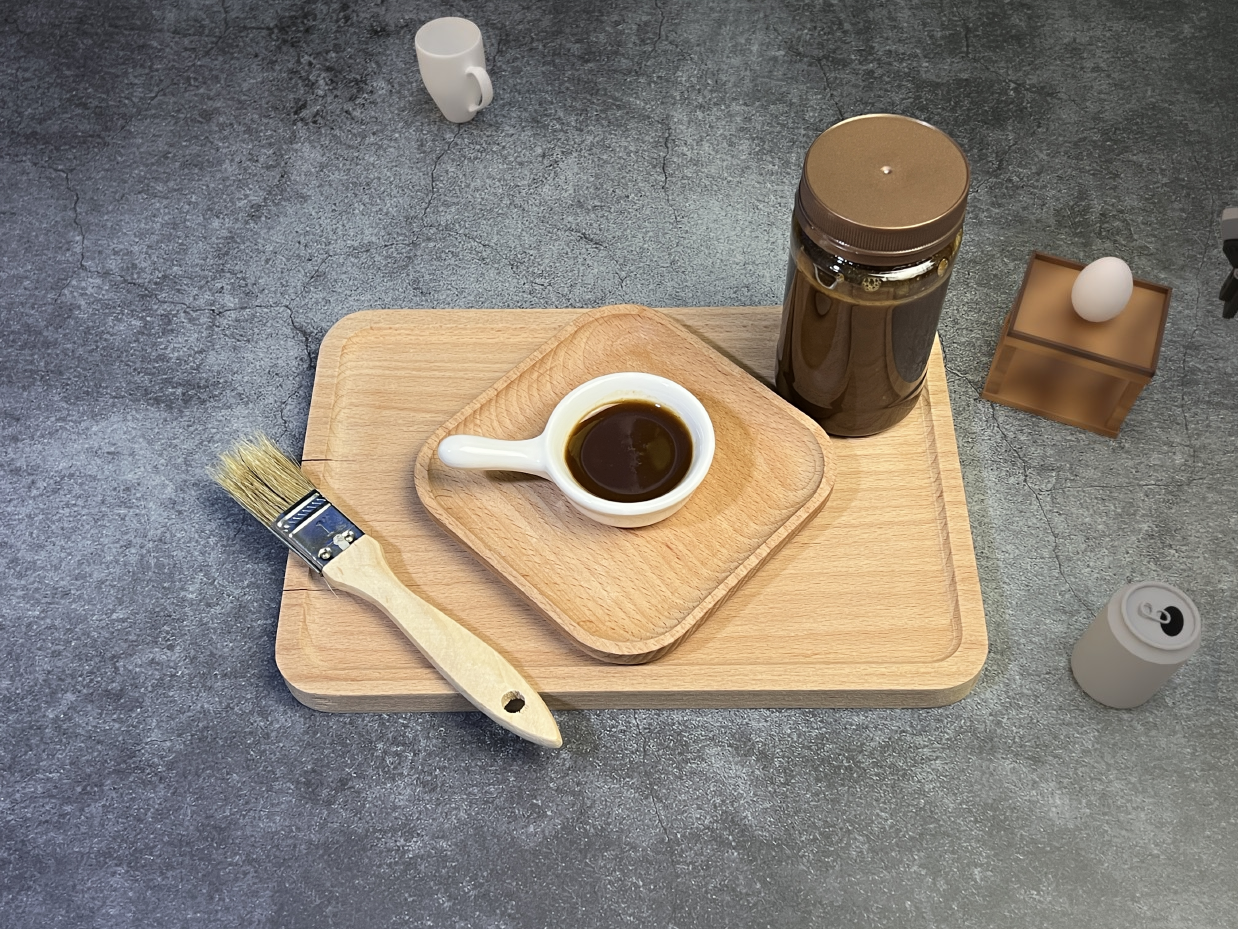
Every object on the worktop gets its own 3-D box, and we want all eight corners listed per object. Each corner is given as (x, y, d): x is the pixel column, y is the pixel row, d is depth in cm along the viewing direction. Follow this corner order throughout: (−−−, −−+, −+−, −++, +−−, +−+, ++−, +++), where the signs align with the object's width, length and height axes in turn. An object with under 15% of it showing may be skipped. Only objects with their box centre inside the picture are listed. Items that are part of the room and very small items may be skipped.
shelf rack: (1133, 356, 120) (1173, 287, 111) (1115, 439, 114) (1155, 373, 105) (1005, 319, 123) (1033, 249, 114) (980, 398, 117) (1008, 330, 108)
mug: (416, 110, 145) (400, 33, 136) (467, 84, 148) (456, 7, 139) (469, 156, 140) (456, 80, 131) (521, 128, 143) (512, 51, 134)
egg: (1100, 290, 112) (1127, 237, 106) (1127, 328, 109) (1156, 276, 103) (1053, 301, 111) (1076, 248, 105) (1078, 339, 108) (1104, 287, 102)
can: (1145, 725, 96) (1203, 669, 86) (1059, 692, 98) (1106, 633, 88) (1160, 653, 100) (1217, 592, 90) (1077, 623, 102) (1123, 559, 92)
